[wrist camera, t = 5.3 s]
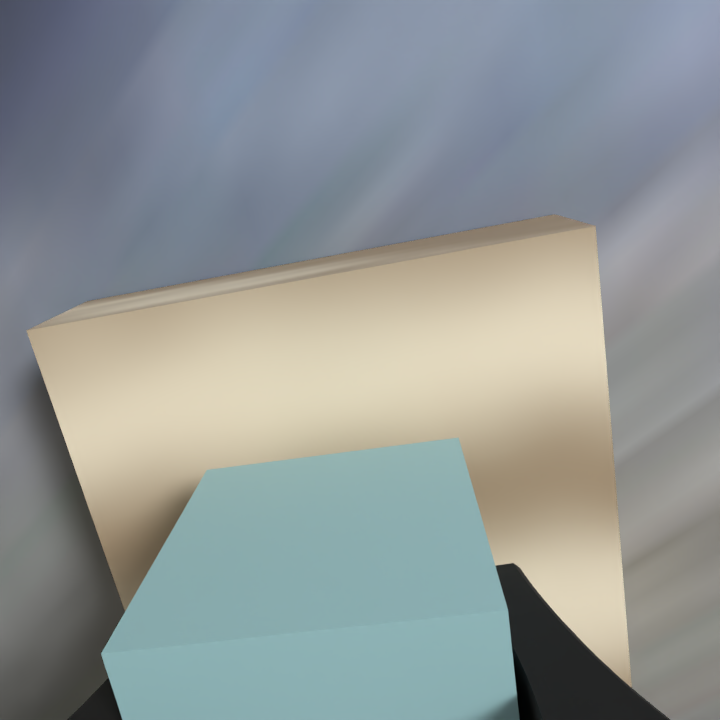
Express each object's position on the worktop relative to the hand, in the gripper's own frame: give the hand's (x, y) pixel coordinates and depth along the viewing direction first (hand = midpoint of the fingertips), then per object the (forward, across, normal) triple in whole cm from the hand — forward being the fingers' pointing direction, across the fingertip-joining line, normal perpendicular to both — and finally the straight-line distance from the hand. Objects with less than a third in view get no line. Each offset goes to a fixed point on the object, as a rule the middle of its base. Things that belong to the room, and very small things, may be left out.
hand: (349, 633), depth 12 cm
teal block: (+2, 0, 0) cm, 2 cm away
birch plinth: (+6, 0, 0) cm, 6 cm away
